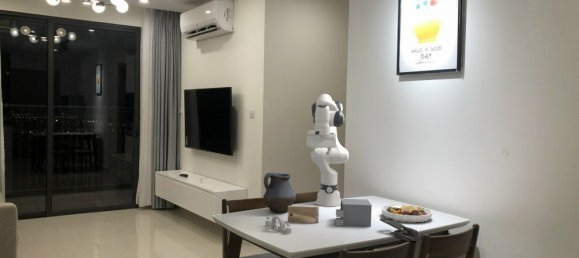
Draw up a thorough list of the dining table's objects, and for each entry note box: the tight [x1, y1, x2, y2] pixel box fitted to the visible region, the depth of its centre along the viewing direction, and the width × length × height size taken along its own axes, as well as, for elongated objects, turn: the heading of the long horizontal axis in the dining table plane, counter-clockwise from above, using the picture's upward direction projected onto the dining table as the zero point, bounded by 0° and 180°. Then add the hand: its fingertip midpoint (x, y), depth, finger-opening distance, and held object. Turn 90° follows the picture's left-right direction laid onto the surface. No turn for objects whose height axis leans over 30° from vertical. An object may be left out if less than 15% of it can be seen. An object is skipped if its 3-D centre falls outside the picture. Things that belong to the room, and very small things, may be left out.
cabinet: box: [335, 198, 373, 227], centre depth 265 cm, size 18×20×12 cm
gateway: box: [264, 214, 292, 235], centre depth 246 cm, size 20×2×8 cm, turn 39°
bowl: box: [381, 204, 433, 224], centre depth 281 cm, size 30×30×8 cm
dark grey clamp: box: [379, 217, 422, 243], centre depth 242 cm, size 9×7×25 cm
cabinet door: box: [287, 205, 320, 224], centre depth 262 cm, size 4×18×9 cm, turn 88°
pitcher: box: [262, 172, 297, 214], centre depth 287 cm, size 21×22×25 cm
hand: (321, 155), depth 273 cm, fingers open, 8 cm apart
